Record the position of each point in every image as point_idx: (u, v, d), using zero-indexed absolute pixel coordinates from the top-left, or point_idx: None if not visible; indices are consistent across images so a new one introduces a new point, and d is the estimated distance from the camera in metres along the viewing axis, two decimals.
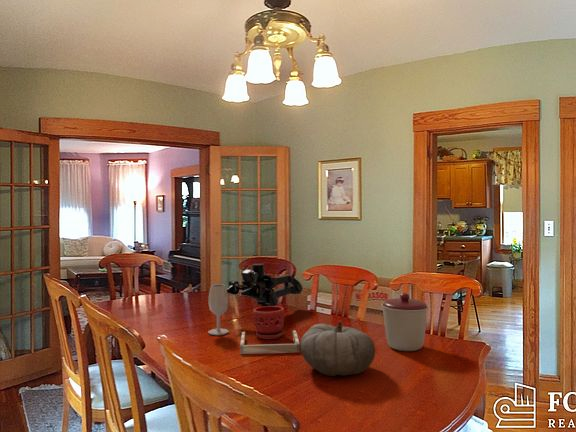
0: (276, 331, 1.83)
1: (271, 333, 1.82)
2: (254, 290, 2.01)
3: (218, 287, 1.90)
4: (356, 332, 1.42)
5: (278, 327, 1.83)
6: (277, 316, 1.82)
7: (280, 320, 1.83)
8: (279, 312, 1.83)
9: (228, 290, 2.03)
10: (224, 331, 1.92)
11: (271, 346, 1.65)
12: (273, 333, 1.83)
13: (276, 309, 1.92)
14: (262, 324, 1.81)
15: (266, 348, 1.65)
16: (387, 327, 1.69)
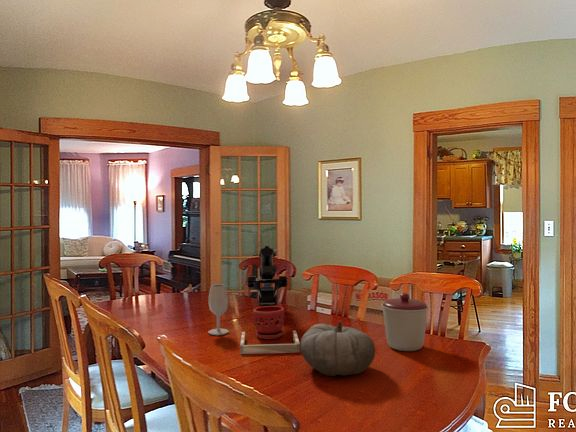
0: (276, 331, 1.83)
1: (271, 333, 1.82)
2: (278, 284, 2.08)
3: (218, 287, 1.90)
4: (356, 332, 1.42)
5: (278, 327, 1.83)
6: (277, 316, 1.82)
7: (280, 320, 1.83)
8: (279, 312, 1.83)
9: (261, 293, 2.05)
10: (224, 331, 1.92)
11: (271, 346, 1.65)
12: (273, 333, 1.83)
13: (276, 309, 1.92)
14: (262, 324, 1.81)
15: (266, 348, 1.65)
16: (387, 327, 1.69)
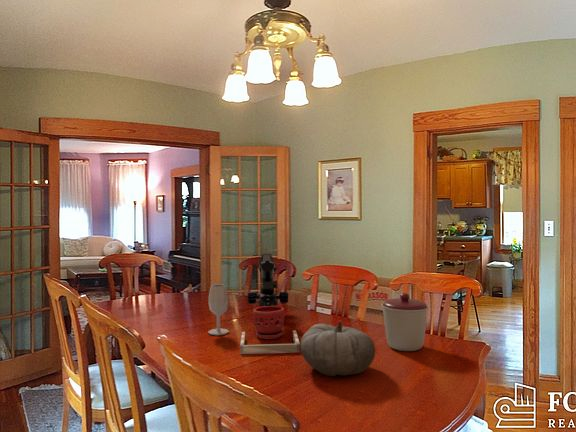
0: (276, 331, 1.83)
1: (271, 333, 1.82)
2: (273, 300, 2.02)
3: (218, 287, 1.90)
4: (356, 332, 1.42)
5: (278, 327, 1.83)
6: (277, 316, 1.82)
7: (280, 320, 1.83)
8: (279, 312, 1.83)
9: None
10: (224, 331, 1.92)
11: (271, 346, 1.65)
12: (273, 333, 1.83)
13: (276, 309, 1.92)
14: (262, 324, 1.81)
15: (266, 348, 1.65)
16: (387, 327, 1.69)
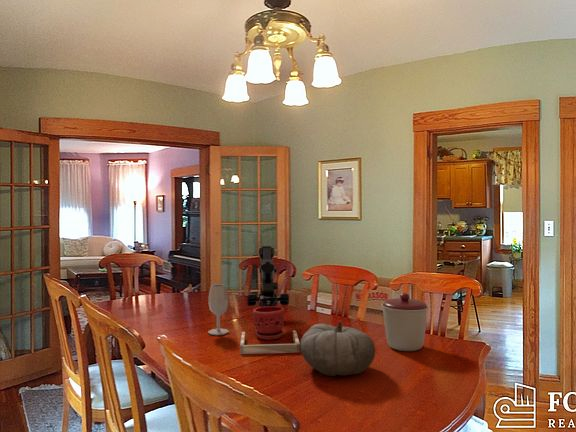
0: (276, 331, 1.82)
1: (271, 333, 1.82)
2: (274, 302, 1.98)
3: (218, 287, 1.90)
4: (356, 332, 1.42)
5: (278, 327, 1.82)
6: (277, 316, 1.81)
7: (280, 320, 1.82)
8: (279, 312, 1.82)
9: None
10: (224, 331, 1.92)
11: (271, 346, 1.65)
12: (273, 333, 1.82)
13: (276, 309, 1.91)
14: (262, 324, 1.81)
15: (266, 348, 1.65)
16: (387, 327, 1.69)
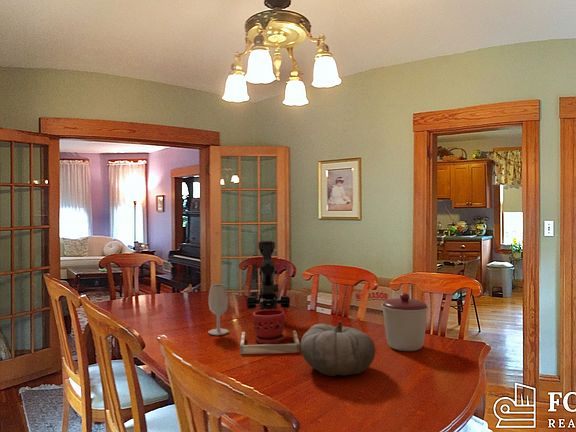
0: (276, 336, 1.76)
1: (271, 338, 1.76)
2: (274, 305, 1.92)
3: (218, 287, 1.90)
4: (356, 332, 1.42)
5: (278, 331, 1.76)
6: (277, 320, 1.75)
7: (280, 324, 1.76)
8: (279, 316, 1.76)
9: None
10: (224, 331, 1.92)
11: (271, 346, 1.65)
12: (273, 338, 1.76)
13: (277, 312, 1.86)
14: (261, 328, 1.75)
15: (266, 348, 1.65)
16: (387, 327, 1.69)
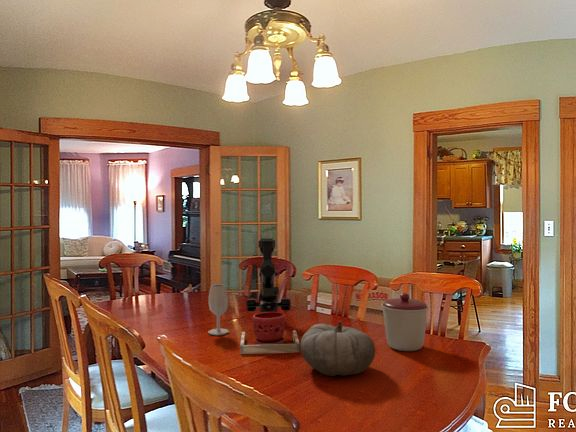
0: (276, 339, 1.72)
1: (271, 341, 1.72)
2: (274, 308, 1.87)
3: (218, 287, 1.90)
4: (356, 332, 1.42)
5: (278, 335, 1.72)
6: (277, 323, 1.71)
7: (280, 327, 1.72)
8: (279, 319, 1.72)
9: None
10: (224, 331, 1.92)
11: (271, 346, 1.65)
12: (273, 341, 1.72)
13: (278, 315, 1.81)
14: (261, 331, 1.71)
15: (266, 348, 1.65)
16: (387, 327, 1.69)
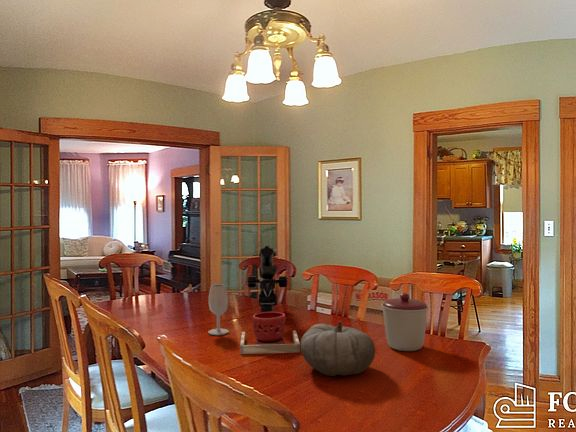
0: (276, 339, 1.72)
1: (271, 341, 1.72)
2: (272, 284, 2.08)
3: (218, 287, 1.90)
4: (356, 332, 1.42)
5: (278, 335, 1.72)
6: (277, 323, 1.71)
7: (280, 327, 1.72)
8: (279, 319, 1.72)
9: None
10: (224, 331, 1.92)
11: (271, 346, 1.65)
12: (273, 341, 1.72)
13: (278, 315, 1.81)
14: (261, 331, 1.71)
15: (266, 348, 1.65)
16: (387, 327, 1.69)
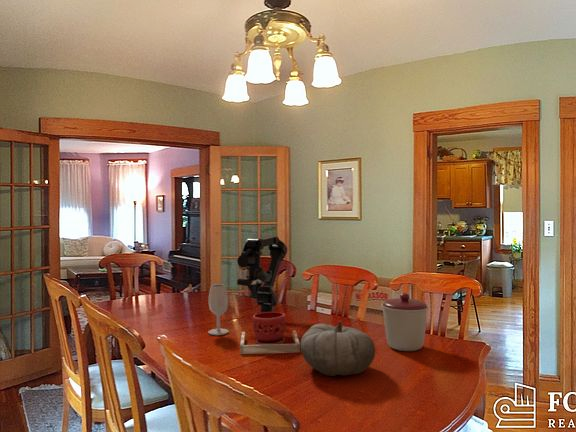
0: (276, 339, 1.72)
1: (271, 341, 1.72)
2: None
3: (218, 287, 1.90)
4: (356, 332, 1.42)
5: (278, 335, 1.72)
6: (277, 323, 1.71)
7: (280, 327, 1.72)
8: (279, 319, 1.72)
9: None
10: (224, 331, 1.92)
11: (271, 346, 1.65)
12: (273, 341, 1.72)
13: (278, 315, 1.81)
14: (261, 331, 1.71)
15: (266, 348, 1.65)
16: (387, 327, 1.69)
